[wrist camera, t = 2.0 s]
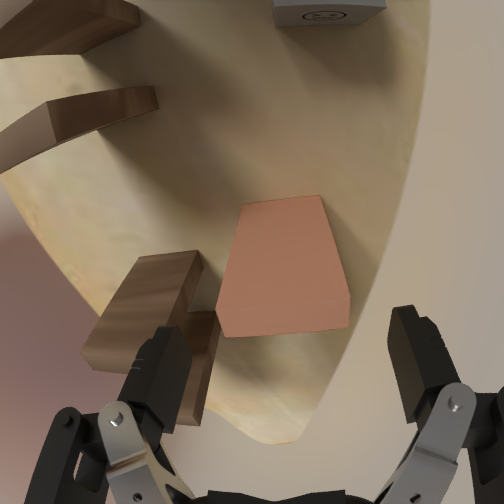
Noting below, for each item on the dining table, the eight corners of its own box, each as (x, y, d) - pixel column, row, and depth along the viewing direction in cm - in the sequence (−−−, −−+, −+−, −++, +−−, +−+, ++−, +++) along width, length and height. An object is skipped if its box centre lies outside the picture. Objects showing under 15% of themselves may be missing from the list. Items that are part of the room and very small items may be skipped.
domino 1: (76, 36, 13) (-36, 37, 5) (137, 6, 13) (32, -28, 4) (79, 54, 14) (-35, 64, 6) (141, 26, 13) (32, 1, 5)
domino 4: (164, 313, 26) (126, 408, 17) (217, 310, 25) (192, 415, 16) (170, 325, 26) (136, 418, 18) (221, 323, 26) (200, 426, 17)
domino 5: (243, 204, 20) (215, 309, 11) (319, 195, 19) (350, 296, 10) (247, 225, 20) (225, 337, 12) (321, 217, 20) (349, 327, 11)
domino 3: (139, 256, 22) (79, 352, 14) (197, 249, 22) (152, 357, 13) (146, 273, 23) (93, 369, 15) (203, 267, 22) (165, 377, 14)
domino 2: (91, 109, 16) (-21, 148, 8) (153, 85, 16) (46, 101, 7) (96, 130, 17) (-11, 180, 9) (158, 108, 16) (57, 143, 8)
